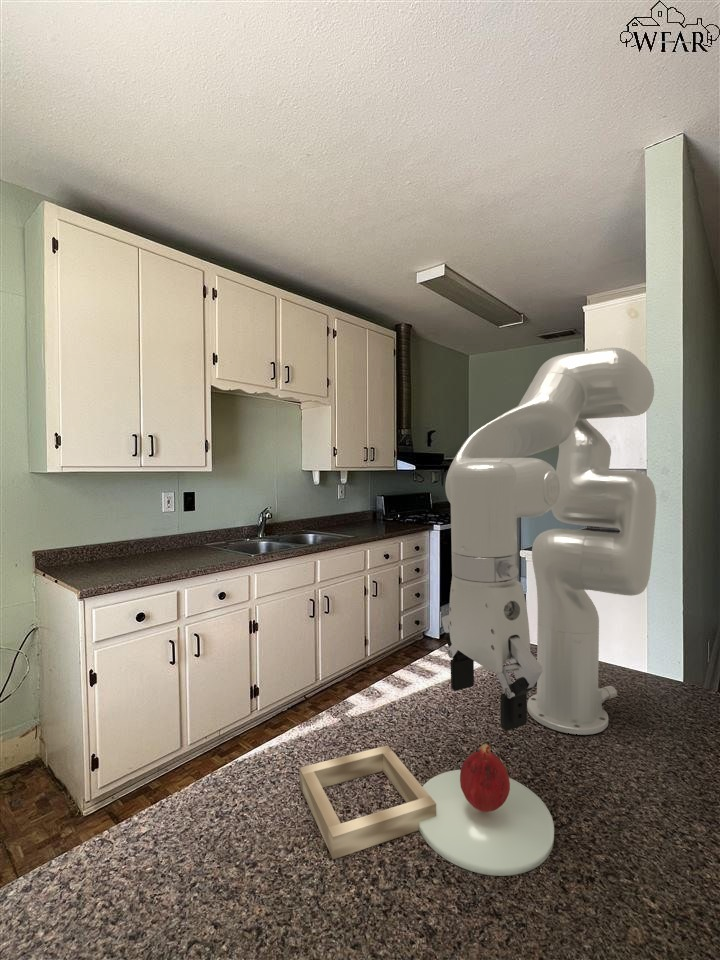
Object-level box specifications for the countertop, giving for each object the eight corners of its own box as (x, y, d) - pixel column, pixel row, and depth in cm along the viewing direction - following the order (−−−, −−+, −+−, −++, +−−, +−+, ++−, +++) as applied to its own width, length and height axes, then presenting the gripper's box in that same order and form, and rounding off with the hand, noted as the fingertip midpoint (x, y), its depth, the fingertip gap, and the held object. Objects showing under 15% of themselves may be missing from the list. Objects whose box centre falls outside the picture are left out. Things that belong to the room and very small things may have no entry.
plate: (493, 764, 69) (493, 757, 69) (586, 846, 54) (586, 838, 54) (392, 795, 62) (392, 787, 62) (466, 897, 48) (466, 887, 48)
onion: (511, 833, 55) (513, 764, 54) (459, 824, 56) (460, 757, 55) (506, 798, 60) (508, 735, 60) (459, 791, 62) (460, 729, 61)
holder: (387, 762, 69) (387, 745, 69) (436, 824, 57) (436, 803, 57) (299, 786, 64) (299, 767, 64) (333, 859, 52) (332, 837, 52)
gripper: (565, 579, 51) (565, 736, 52) (467, 549, 67) (469, 670, 68) (507, 589, 48) (509, 755, 49) (419, 555, 64) (422, 681, 65)
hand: (486, 705), depth 58 cm, fingers open, 9 cm apart
